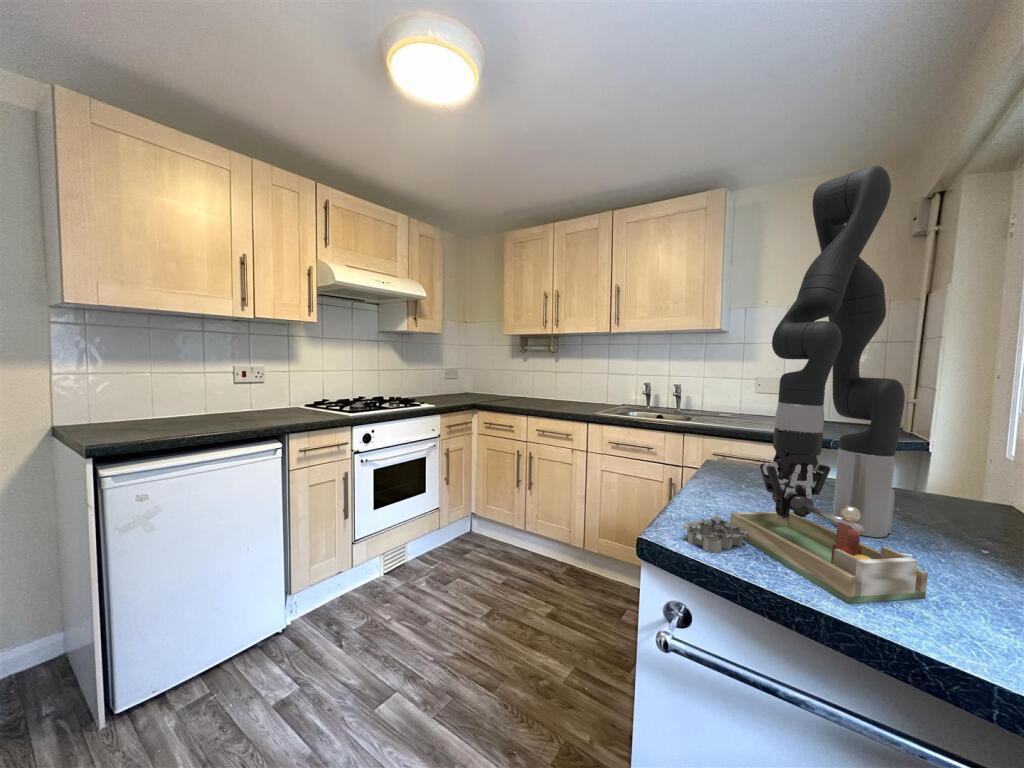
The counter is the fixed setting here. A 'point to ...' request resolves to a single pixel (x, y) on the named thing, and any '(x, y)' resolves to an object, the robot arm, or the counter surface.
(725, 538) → the egg carton
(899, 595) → the wooden tray
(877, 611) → the counter surface
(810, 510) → the foosball player rod
